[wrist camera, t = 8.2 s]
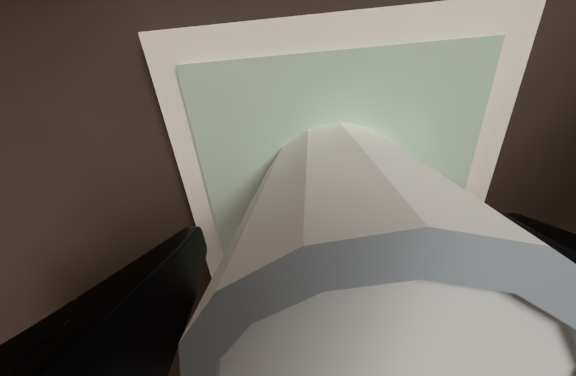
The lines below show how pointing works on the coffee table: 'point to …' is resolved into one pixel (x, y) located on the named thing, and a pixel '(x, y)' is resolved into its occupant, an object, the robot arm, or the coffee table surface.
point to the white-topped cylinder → (379, 275)
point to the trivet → (337, 92)
